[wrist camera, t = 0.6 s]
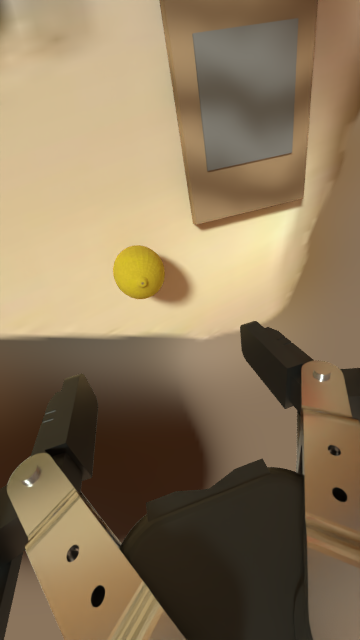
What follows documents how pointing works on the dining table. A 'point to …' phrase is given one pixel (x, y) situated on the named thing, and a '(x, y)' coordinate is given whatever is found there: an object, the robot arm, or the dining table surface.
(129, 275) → the lemon
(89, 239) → the dining table surface
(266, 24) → the serving board
